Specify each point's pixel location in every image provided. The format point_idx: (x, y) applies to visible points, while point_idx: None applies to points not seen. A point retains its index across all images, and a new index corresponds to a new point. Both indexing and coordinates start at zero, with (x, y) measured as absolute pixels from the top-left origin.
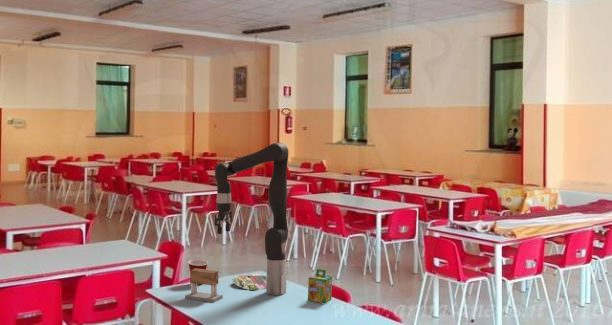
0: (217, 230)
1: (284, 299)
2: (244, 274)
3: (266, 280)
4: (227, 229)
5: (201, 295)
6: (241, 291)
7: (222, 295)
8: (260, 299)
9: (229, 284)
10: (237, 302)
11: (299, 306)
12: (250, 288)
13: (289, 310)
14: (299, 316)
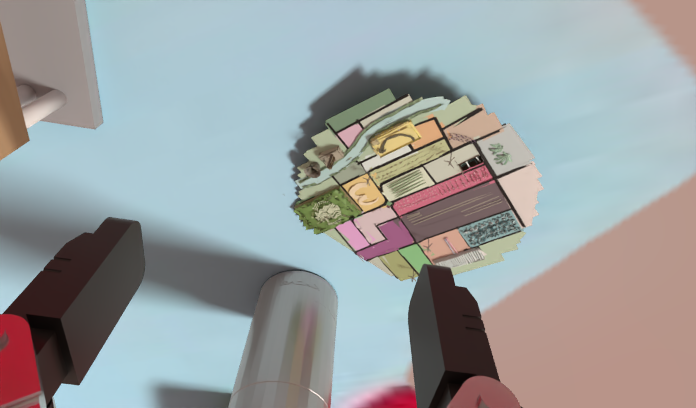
0: (47, 266)
1: (220, 339)
2: (507, 133)
3: (272, 312)
4: (420, 312)
5: (15, 14)
6: (263, 170)
7: (95, 128)
8: (177, 272)
9: (386, 61)
10: (85, 205)
11: (165, 384)
12: (306, 205)
13: (107, 369)
14: (70, 396)
